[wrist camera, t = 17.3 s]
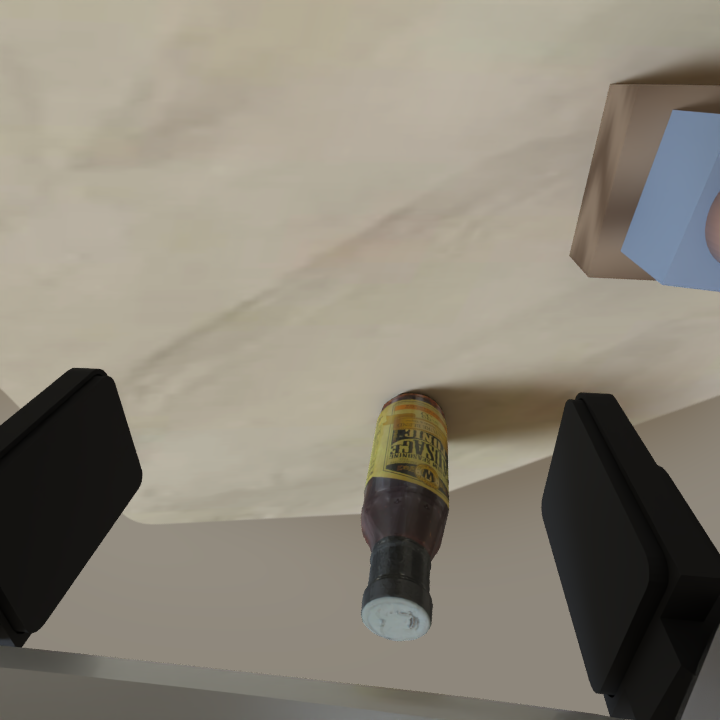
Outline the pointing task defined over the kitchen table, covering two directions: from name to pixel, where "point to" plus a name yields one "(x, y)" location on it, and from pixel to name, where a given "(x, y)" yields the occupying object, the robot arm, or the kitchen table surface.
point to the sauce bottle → (404, 515)
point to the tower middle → (679, 205)
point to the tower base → (627, 169)
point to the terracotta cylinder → (713, 229)
